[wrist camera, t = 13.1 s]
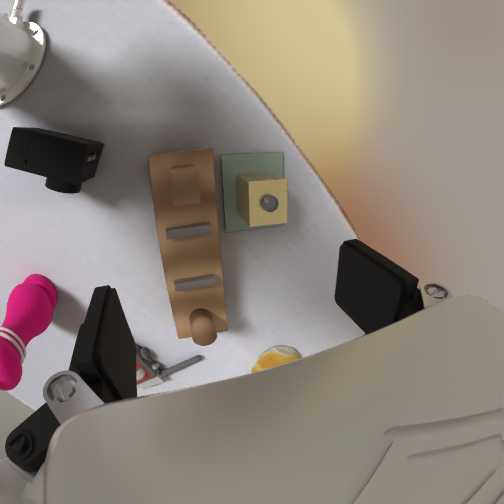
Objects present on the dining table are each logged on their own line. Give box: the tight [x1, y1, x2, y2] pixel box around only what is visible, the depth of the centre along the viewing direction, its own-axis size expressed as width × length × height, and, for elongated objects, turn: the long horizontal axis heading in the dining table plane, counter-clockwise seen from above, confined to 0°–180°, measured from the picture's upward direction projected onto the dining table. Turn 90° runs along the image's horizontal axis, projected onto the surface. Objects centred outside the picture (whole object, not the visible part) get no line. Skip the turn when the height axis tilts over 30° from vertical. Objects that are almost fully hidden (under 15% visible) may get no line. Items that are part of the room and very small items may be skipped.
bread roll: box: [252, 346, 299, 373], centre depth 47 cm, size 8×9×4 cm
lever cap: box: [236, 173, 288, 227], centre depth 32 cm, size 5×4×7 cm
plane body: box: [149, 148, 228, 346], centre depth 32 cm, size 24×7×10 cm, turn 2°
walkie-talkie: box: [135, 343, 201, 389], centre depth 39 cm, size 9×4×20 cm
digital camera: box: [5, 127, 104, 193], centre depth 24 cm, size 10×5×7 cm, turn 68°
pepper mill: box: [0, 274, 57, 391], centre depth 23 cm, size 7×7×20 cm
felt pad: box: [221, 152, 284, 233], centre depth 36 cm, size 10×8×1 cm
